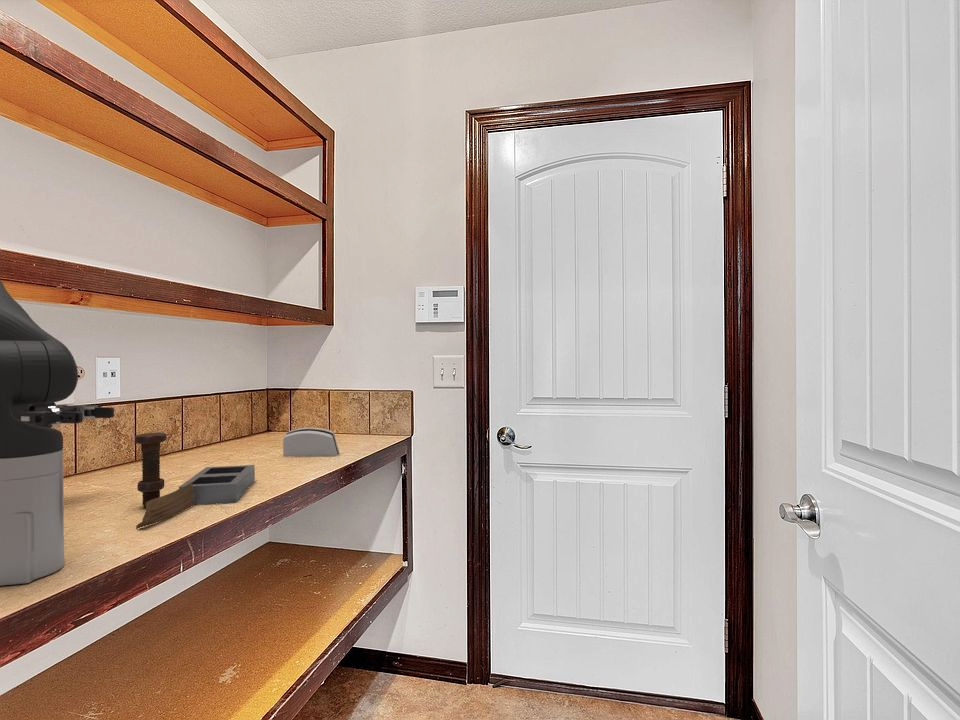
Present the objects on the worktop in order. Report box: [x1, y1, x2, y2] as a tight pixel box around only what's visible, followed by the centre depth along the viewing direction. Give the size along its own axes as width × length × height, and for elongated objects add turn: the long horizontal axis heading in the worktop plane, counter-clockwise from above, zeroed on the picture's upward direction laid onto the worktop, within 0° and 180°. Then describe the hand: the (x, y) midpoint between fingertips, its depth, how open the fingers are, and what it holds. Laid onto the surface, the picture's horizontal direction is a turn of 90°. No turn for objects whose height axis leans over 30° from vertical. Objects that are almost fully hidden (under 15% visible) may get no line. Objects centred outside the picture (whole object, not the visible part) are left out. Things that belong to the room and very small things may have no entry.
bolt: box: [134, 432, 167, 508], centre depth 108 cm, size 6×5×15 cm
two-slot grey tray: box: [178, 464, 256, 506], centre depth 120 cm, size 20×11×4 cm, turn 13°
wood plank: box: [135, 483, 195, 530], centre depth 101 cm, size 15×2×5 cm, turn 178°
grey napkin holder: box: [282, 427, 340, 457], centre depth 164 cm, size 17×5×10 cm, turn 92°
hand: (97, 415), depth 109 cm, fingers open, 8 cm apart
